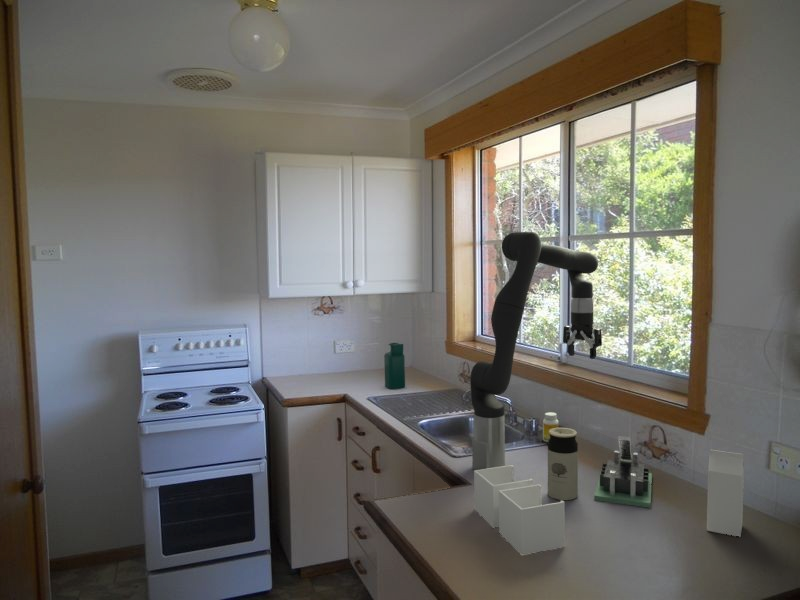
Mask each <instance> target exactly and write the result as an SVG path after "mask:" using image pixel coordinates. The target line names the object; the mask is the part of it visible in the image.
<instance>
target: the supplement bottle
mask: <svg viewBox="0 0 800 600" xmlns="http://www.w3.org/2000/svg"><path fill="white" fill-rule="evenodd" d="M557 418H558V416H557V413H556V412H545V413H544V419H543V421H542V440H543V442H545V443H548V441H549V439H550V434H549V430H550V429H553V428H560V427H559V426H560V425H559V420H558V419H557Z"/></svg>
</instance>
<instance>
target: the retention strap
mask: <svg viewBox="0 0 800 600" xmlns="http://www.w3.org/2000/svg"><path fill="white" fill-rule="evenodd" d="M617 439H618V440H617V441H618V451H619V461H623V462H633V461H632V460H633V459H632V458H633V457H632V448H631V447H632V446H631V445H632V444H631V437H630V436H624V435H623V436H621V435H618V437H617Z"/></svg>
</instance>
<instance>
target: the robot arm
mask: <svg viewBox="0 0 800 600" xmlns="http://www.w3.org/2000/svg"><path fill="white" fill-rule="evenodd" d="M501 252H502V254H503V256H504V257H505V258H506V259H507V260H509V261H513V262H516V265H515V267H514V270H513V273H512V275H511V277H510V278H509V279H508V281H507V282H506V283H505V284H504V285H503V287H501V289H500V291H499V292H498V293H497V296H496V298H495V300H494V304H493V306H492V311H491V316H490V324H491V329H492V333H493V336H494V342H495V349H494V351H495V352H494V357H493V361H492V362H490V361H486V360H485V361H484V360H480V361H478V362H476V363H475V364H474V365H473V367H472V369H471V372H470V377H469V378H470V379H469V382H470V399H471V404H472V407H473V411H474V412H473V413H474V414H473V416H474V419H473V421H474V422H473V423H474V424H473V425H474V427H473V429H474V438H472V440H471V443H472V445H471V446H472V447H471V448H472V449H471V453H472V457H471V459H472V460H471V461H472V470H481V469H487V468H494V467H501V466H506V456H505V455H506V451H505V450H506V449H505V448H506V446H505V445H506V443H505V442H506V439H505V437H506V434H505V433H506V431H505V428H506V427H505V426H506V425H505V422H506V421H505V416H506V415H505V414H506V413H505V406H504V404H503V403H502V402H501V401H500V400H499V399H498V398H497V397H496V395H497V396H499V395H502V394H504V393H506V391H507V389H508V387H509V386H510V385H509V384H510V383H511V382H510V381H511V378H512V372H513V371H512V370H513V363H514V355H515V349H516V345H517V339H518V337H519V335H518V334H519V330H520V327H521V323H522V319H523V316H524V310H525V306H526V302H527V297H528V294H529V289H530V287H531V284H532V283H531V282H532V279H533V276H534V273H535V271H536V267H537V264H538V263H539V264H541V265H547V266H551V267H554V268H557V269H562V270H566V272H567V274H568V278H569V283H570V285H571V301H570V324H571V326H570V325H564V326H563V331H562V332H563V334H562V336H563V337H562V342H563V344H567V354H568V356H570V357H572V356H573V357H574V356H575V343H576V341H578V340H581V341H585V342H586V343H587V344H588V345H589V347H590V348H589V359H591V360H593V359H596V357H597V348H599V347H602V345H603V342H602V341H603V340H602V337H603V336H602V329H601V328H594V327H593V326H594V300H593V296H594V295H593V294H594V293H593V291H594V290H593V288H594V287H593V286H594V285H593V283H592V281H589V280H587V279H585V278H584V277H583V275H584V274H589V275H590V274H593V273H594V272H596V270H597V268H598V266H599V260H598V258H597V256H596V255H595V254H593V253H591V252H588V251H581V250H574V249H570V248H566V247H564V246H559V245H553V244H545V243H542V238H541V237H540V235H539V233H537V232H534V231H516V232H515V231H514V232H510V233H508V234H507V235H506V236H504V237H503V239H502V242H501ZM571 333H572V334H571Z"/></svg>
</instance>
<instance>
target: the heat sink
mask: <svg viewBox="0 0 800 600" xmlns="http://www.w3.org/2000/svg"><path fill="white" fill-rule="evenodd" d="M613 454H614V456H613V458H614V459H613V460H612V459H607V461H606V462H607V463H605V462H602V466H601V469H602V470H600V473H601V474H600V473H599V476H600V486H604V491H607V492H610V495H614V496H615V493H622V494H630V498H635V495H637V496H643V492H648V480H649V473H650V472H649V467H645V463H639V453H638V452H633V457H632V458H633V459H632V460H633V461H623V460H620V451H619V450H614V453H613Z"/></svg>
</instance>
